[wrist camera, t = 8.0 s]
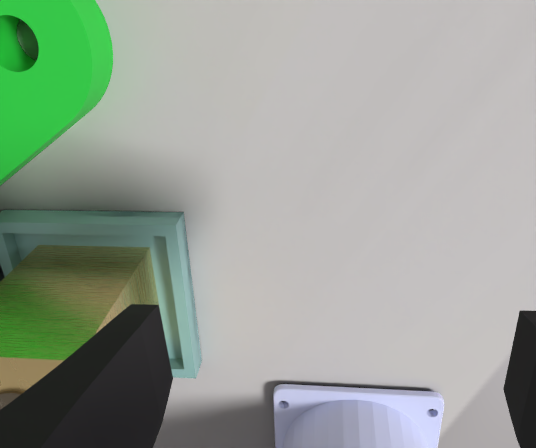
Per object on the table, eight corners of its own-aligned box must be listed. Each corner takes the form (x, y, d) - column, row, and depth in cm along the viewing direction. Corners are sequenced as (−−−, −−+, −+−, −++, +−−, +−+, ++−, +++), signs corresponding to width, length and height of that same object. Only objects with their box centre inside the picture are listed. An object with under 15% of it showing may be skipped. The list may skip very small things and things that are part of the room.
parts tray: (201, 360, 25) (196, 378, 24) (46, 353, 26) (34, 370, 25) (183, 212, 21) (175, 225, 20) (3, 209, 22) (-13, 222, 21)
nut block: (164, 340, 24) (105, 476, 18) (63, 336, 25) (-30, 466, 18) (149, 247, 22) (75, 364, 15) (38, 244, 22) (-78, 357, 16)
